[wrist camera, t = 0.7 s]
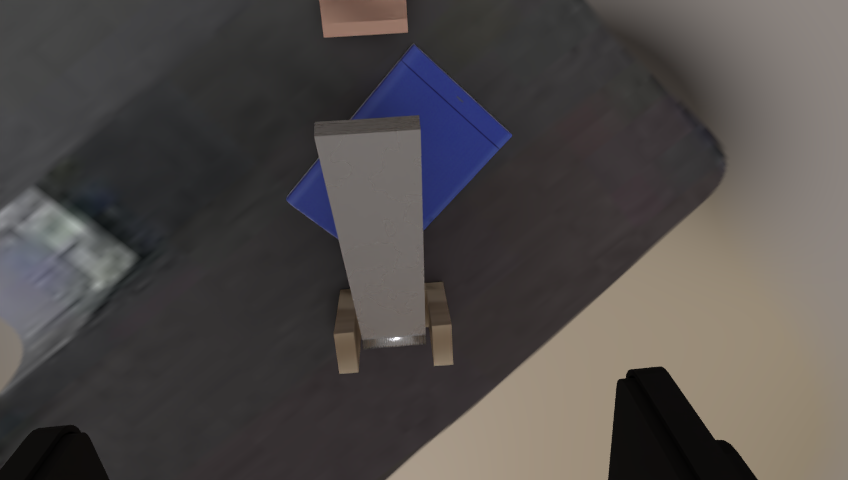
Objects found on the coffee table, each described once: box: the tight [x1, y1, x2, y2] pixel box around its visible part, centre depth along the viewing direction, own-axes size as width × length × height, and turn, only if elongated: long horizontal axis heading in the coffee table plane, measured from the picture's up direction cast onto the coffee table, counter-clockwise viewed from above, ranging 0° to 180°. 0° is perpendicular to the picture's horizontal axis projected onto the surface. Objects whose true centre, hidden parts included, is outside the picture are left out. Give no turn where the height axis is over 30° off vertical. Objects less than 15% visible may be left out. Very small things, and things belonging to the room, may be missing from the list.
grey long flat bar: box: [314, 115, 426, 349], centre depth 28 cm, size 19×4×1 cm, turn 3°
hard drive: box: [286, 43, 512, 240], centre depth 35 cm, size 2×8×12 cm
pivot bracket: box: [334, 282, 453, 374], centre depth 36 cm, size 3×7×6 cm, turn 93°
